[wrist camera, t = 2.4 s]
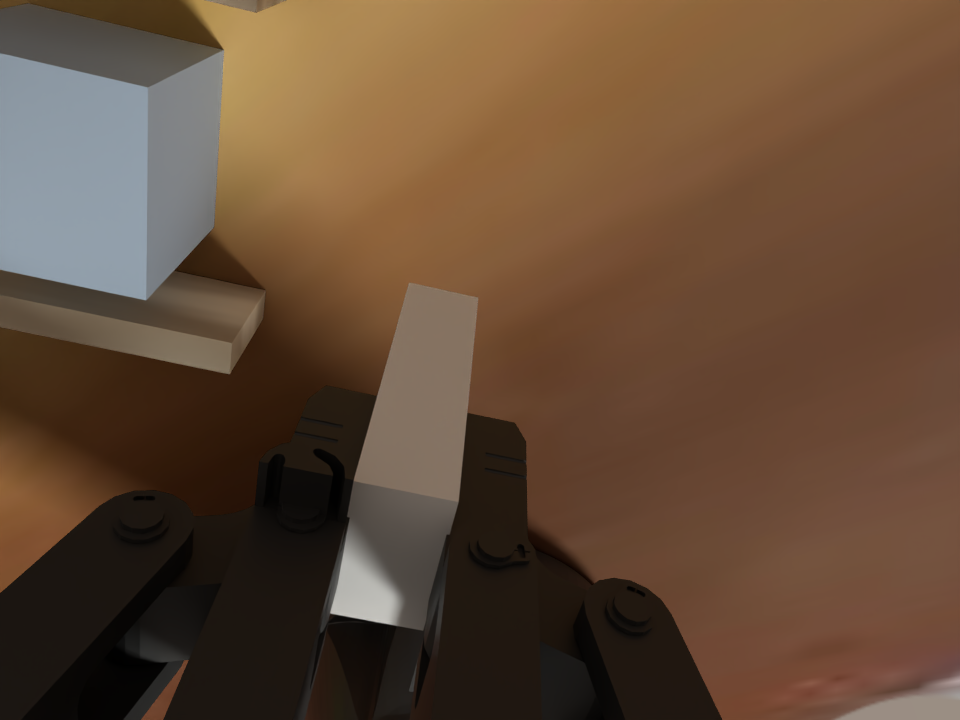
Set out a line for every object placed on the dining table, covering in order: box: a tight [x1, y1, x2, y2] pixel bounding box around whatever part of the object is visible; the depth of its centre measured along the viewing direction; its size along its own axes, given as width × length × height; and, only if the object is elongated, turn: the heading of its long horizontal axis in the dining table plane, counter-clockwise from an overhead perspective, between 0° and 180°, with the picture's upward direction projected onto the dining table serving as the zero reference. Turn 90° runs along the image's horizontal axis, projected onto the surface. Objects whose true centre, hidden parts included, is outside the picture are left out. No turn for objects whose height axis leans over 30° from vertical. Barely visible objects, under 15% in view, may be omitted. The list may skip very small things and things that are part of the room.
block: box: [0, 3, 224, 300], centre depth 23 cm, size 6×6×6 cm
